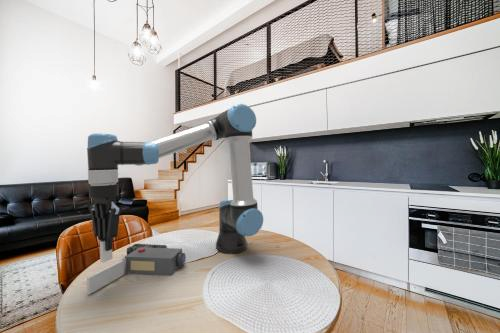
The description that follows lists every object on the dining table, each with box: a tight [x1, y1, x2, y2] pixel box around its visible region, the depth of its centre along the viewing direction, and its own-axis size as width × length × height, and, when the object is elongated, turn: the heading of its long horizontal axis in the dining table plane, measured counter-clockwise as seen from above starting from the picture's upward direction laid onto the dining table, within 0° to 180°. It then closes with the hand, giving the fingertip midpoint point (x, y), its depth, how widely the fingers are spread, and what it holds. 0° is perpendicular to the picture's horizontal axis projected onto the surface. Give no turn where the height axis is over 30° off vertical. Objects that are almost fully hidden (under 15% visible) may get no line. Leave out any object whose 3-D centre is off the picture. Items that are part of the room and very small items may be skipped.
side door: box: [86, 257, 127, 295], centre depth 68 cm, size 13×2×5 cm, turn 164°
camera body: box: [124, 247, 187, 276], centre depth 78 cm, size 20×9×7 cm, turn 85°
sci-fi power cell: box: [126, 243, 168, 256], centre depth 89 cm, size 4×19×10 cm
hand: (106, 260), depth 63 cm, fingers closed
